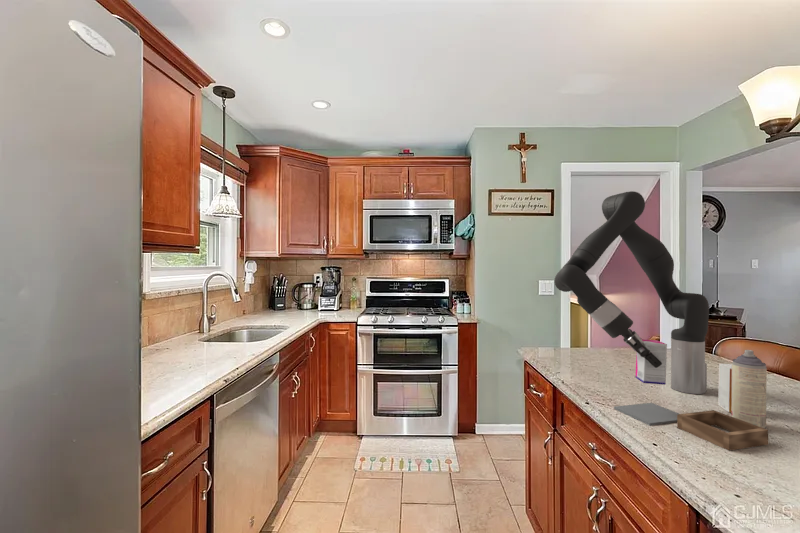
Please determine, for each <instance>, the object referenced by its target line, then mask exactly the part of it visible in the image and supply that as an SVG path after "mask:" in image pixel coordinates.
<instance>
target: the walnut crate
mask: <svg viewBox="0 0 800 533" xmlns="http://www.w3.org/2000/svg"><path fill="white" fill-rule="evenodd" d="M715 426H716V427H715ZM676 427H677V428H676V429H678V430H682V431H684V432H685V433H688V434H691V435H692V436H695V437H698V438H700V439H702V440H704V441H706V442H709V443H711V444H712V445H715V446H718V447H720V448H722V449H724V450H727V451H736V450H744V449H748V448H753V447H754V448H755V447H761V446H767V445H769V429H767V428H766V429H765V428H762V427H759V426H756V425H753V424H751V423H748V422H745V421H742V420H739V419H737V418H734V417H731V415H729V414H725V413H722V412H720V411H717V410H712V409H711V410H705V411H697V412H696V411H695V412H686V413H679V414H677V422H676ZM717 427H718V428H717ZM721 429H722V430H721ZM726 431H727V432H726Z"/></svg>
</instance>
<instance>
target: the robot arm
mask: <svg viewBox="0 0 800 533" xmlns="http://www.w3.org/2000/svg"><path fill="white" fill-rule="evenodd" d="M645 208H646V201H645V198H644V196H643V195H642V194H641V193H640V192H638V191H634V190H633V191H632V190H631V191H624V192H621V193H617V194H614V195H609V196H608V197H606V198H605V199H603V201H602V204H601V211H602V214H603V216H604V218H605V220H606V221H605V222H604V223H603V224H602V225H601V226H599V227H597V229H595V230H594V231H592V232H591V233H590V234H589V235H588V236H586V237H585V238H584V240H582V241H581V243H580V244H579V246H578V247H577V248H576V249H575V251H574V252H573V253H572V255H571V257H570V259H569V260H568V261H567V262H566V263H565V264H564V265H563V266H562V267H561V269H560V270H559V271H558V272H557V273H556V274H555V276H554V285H555V287H556V289H558V290H559V291H561V292H566V293H567V292H572V293H573V294H574V295H575V296H576V297H577V299H576V300H577V301H576V302H577V303H578V305H579V306H580V308H582V309H583V310H584V311H585V312H586V313H587V314H588V315H589V316H590V317H591V318H592V319H593V321H594V322H595V323H596V324H598V326H599V327H600V328H602V330H603V331H605V333H606V334H607V335H609V336H610V338H612V339H616V338H618V337H619V336H622V337H623V342H624V343H625V344H626V345H628V346H629V347H630V348H631V349H632V350H633V351H634V352H638V353H639V354H640V356H641V357H644V358H645V359H646V360H648V361H649V362H650V363H651V364H652V365H653V366H654V367H655V368H657V367H659V366H660V365H662V362H661V361H660V360H659V359H658V358H657V357H655V356H654V355H653V354H652V352H651V351H650V350H649V349H648V348H647V347H645V343H644V342H643V341H642V340H641V339H642V337H640V335H639V334H638V332H637V331H636V330H632V329H631V327H632V325H633V324H634V320H632V319H631V318H630V317H629V316H628V315H627V314H626V313H625V312H624V311H623V310H622V309H621V308H619V307H618V305H616V304H615V303H614V302H613V301H611V300H610V299H609V298H607V297H606V296H605V295H604V294H603V293H602V292H601V291H600V290H599V289H598V288H597V287H596V286H595V283H594V282H593V281H592V279H591V278H590V277H589V275H588V274H587V273H588V271H590V269H592V268H593V267H594V266H595V265H596V263H597V262H598V261H599V259H600V258H601V256H603V254H604V253H605V252H606V251H607V249H608V248H609V247H610V245H612V243H614V241H615V240H616V239H617V238H618V237H620V238H621V239H622V240H623V242H624V243H625V245H626V246H627V248H628V249H629V250H630V252H631V254H632V255H633V256H634V259H635V261H636V262H637V263H638V265H639V266H640V268H641V269H642V271H643V272H644V273H645V275H646V277H647V278H648V280H649V281H650V283H651V285H652V286H653V288H654V289H655V291H656V294H657V295H658V297H659V300H660V301H661V303H662V306H663V307H664V310H665V311H666V312H667V313H668V314H669V316H671V317H672V318H676V319H679V320H684V321H683V325H682V326H681V327H680V328H675V329H672V330H671V332H670V388H671V389H672V390H675V391H677V392H681V393H686V394H694V395H701V394H702V395H703V394H705V393H706V392H707V391H708V390H707V386H708V385H707V383H708V382H707V381H708V380H707V378H708V375H707V372H708V371H707V368H708V366H707V365H708V364H707V362H706V337H707V336H706V335H707V334H708V331H709V330H708V329H709V316H710V305H709V301H708V298H706V296H705V295H703V294H700V293H694V292H693V293H692V292H683V291H681V290H680V289H679V287H678V286H677V285H676V283H675V281H674V279H673V275H674V268H675V260H674V259H673V256H672V255H671V253H670V252H669V250H668V248H667V247H666V245H665V244H663V242H662V241H661V240H660V239H658V237H657V238H656V237H655V236H654V235H652V234H651V233H649V232H647V231H646V230H644V229H643V228H642V227H641V226H639V225H638V224H637V223H636V220H637V219H639V218H640V217H641V215H642V214H643V213H644V211H645ZM643 348H644V349H645V350H644V351H643V352H640V350H641V349H643Z"/></svg>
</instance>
